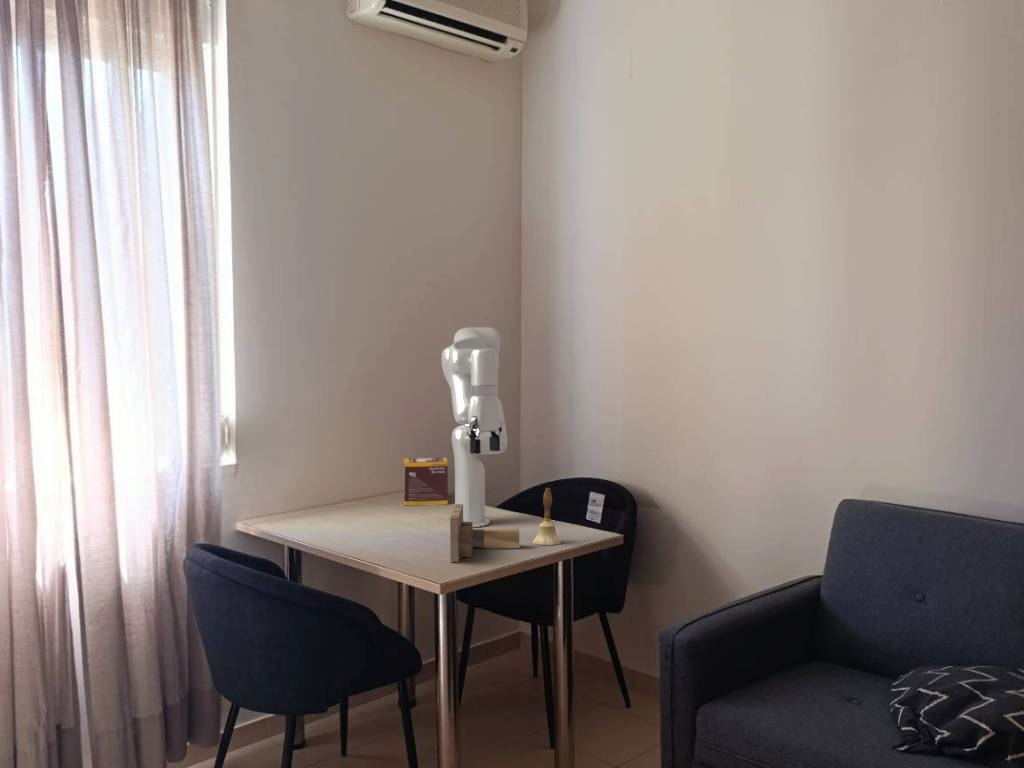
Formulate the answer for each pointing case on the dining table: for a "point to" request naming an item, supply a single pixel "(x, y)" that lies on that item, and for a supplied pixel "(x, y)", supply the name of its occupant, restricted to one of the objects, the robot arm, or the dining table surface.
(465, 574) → the dining table surface
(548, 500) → the hand bell
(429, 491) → the supplement box
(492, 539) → the tan and gray block
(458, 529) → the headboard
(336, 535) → the dining table surface
